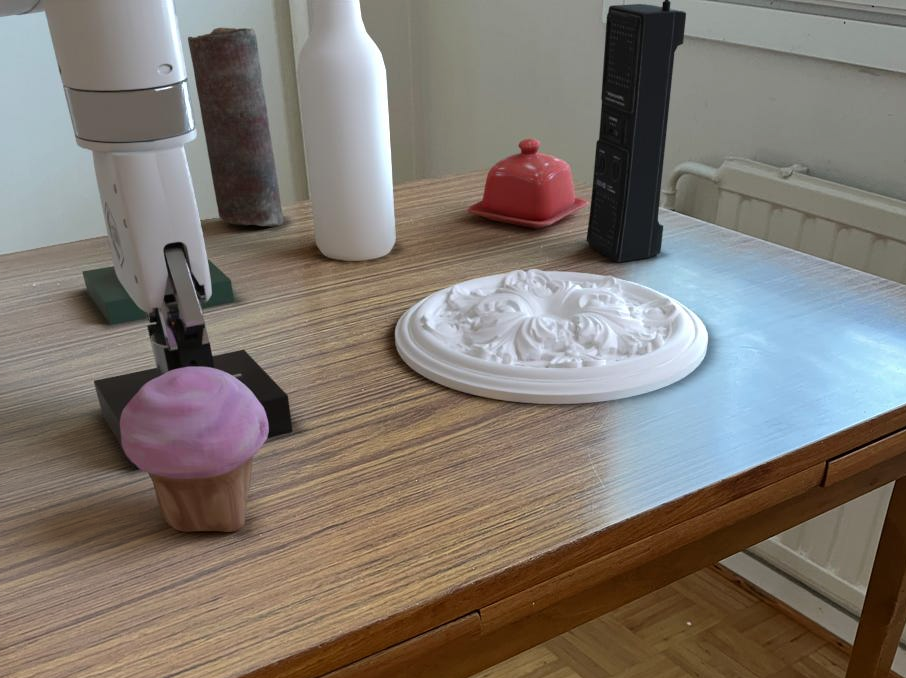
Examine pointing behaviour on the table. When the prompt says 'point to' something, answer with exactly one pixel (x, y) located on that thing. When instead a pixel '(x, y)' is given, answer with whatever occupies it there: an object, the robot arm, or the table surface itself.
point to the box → (124, 309)
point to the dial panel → (238, 364)
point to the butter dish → (528, 189)
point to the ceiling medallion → (551, 338)
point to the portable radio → (633, 129)
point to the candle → (236, 126)
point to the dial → (159, 351)
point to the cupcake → (196, 445)
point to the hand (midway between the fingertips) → (188, 383)
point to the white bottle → (346, 134)
